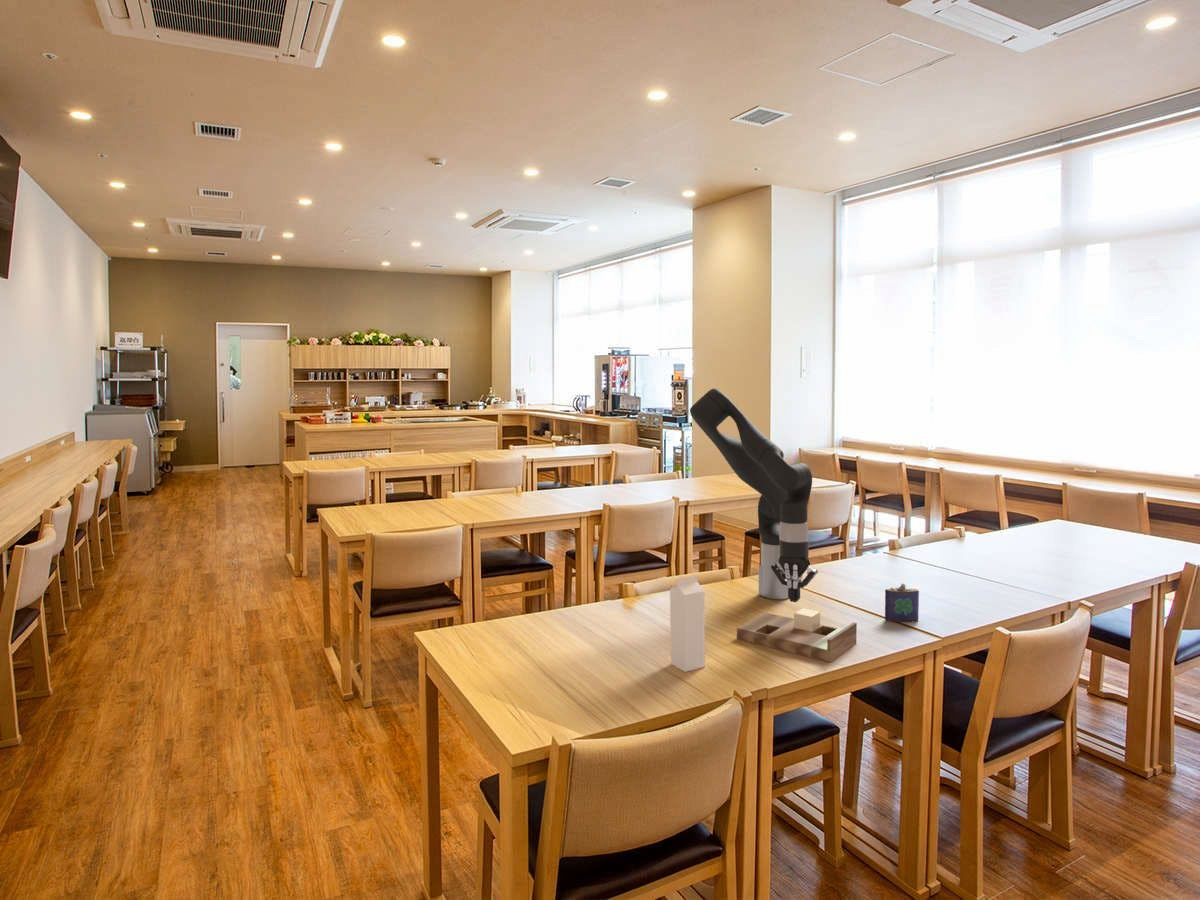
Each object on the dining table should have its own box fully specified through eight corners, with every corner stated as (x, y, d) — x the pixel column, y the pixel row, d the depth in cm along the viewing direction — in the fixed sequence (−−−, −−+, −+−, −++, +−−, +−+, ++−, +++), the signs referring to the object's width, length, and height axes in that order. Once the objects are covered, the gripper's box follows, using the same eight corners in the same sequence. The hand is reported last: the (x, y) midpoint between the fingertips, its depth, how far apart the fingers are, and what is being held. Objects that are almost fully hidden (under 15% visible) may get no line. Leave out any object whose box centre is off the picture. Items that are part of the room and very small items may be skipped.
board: (736, 638, 195) (736, 618, 195) (766, 622, 207) (766, 604, 207) (830, 662, 178) (830, 640, 178) (856, 643, 190) (856, 622, 190)
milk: (705, 667, 177) (705, 578, 175) (684, 672, 174) (684, 582, 172) (690, 658, 182) (690, 572, 180) (670, 663, 179) (669, 576, 177)
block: (793, 627, 194) (794, 613, 194) (802, 622, 198) (802, 608, 198) (811, 631, 191) (811, 616, 191) (820, 626, 195) (820, 611, 194)
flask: (916, 618, 208) (917, 582, 207) (920, 622, 205) (921, 585, 204) (883, 619, 209) (884, 582, 208) (887, 622, 206) (887, 585, 205)
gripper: (764, 537, 197) (765, 600, 199) (811, 543, 188) (811, 609, 190) (777, 532, 202) (777, 593, 204) (823, 538, 194) (823, 601, 196)
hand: (794, 601), depth 197 cm, fingers closed
